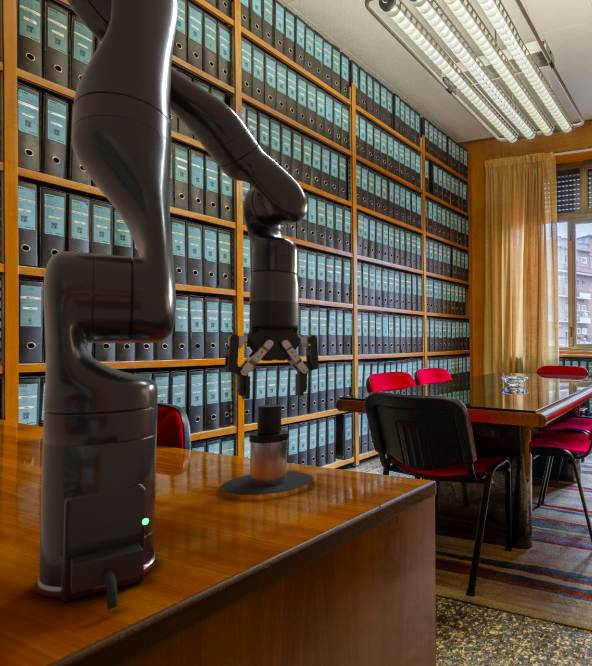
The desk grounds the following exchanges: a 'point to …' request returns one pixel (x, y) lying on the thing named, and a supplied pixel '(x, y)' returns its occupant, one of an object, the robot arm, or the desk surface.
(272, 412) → the steel travel mug
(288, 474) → the disc
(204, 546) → the desk surface
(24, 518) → the desk surface
